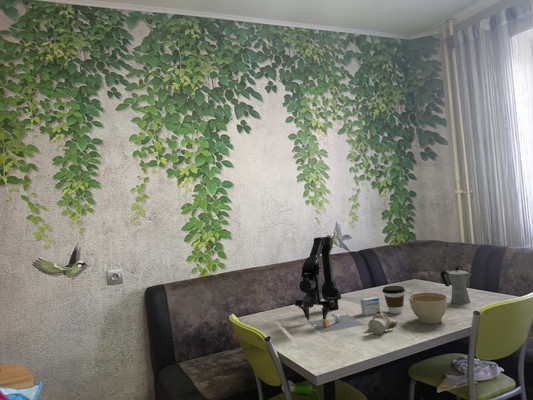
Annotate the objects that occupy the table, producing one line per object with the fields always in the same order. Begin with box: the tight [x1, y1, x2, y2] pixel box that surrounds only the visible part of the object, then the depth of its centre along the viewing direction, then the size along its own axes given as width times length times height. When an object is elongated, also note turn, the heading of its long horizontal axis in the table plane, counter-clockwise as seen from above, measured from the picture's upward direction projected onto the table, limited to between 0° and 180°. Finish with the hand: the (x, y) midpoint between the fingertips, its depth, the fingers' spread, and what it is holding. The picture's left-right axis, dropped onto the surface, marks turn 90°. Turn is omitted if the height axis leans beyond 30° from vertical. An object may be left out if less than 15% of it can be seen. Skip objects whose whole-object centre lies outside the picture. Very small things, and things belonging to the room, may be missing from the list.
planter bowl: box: [408, 291, 448, 325], centre depth 179 cm, size 16×16×11 cm
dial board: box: [308, 314, 365, 334], centre depth 186 cm, size 18×21×2 cm
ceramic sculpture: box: [367, 311, 398, 335], centre depth 173 cm, size 11×9×15 cm
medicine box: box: [360, 296, 381, 317], centre depth 195 cm, size 8×4×9 cm, turn 105°
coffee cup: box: [382, 285, 406, 315], centre depth 197 cm, size 11×11×12 cm
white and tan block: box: [322, 313, 340, 327], centre depth 185 cm, size 11×4×3 cm, turn 135°
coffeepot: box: [439, 266, 472, 305], centre depth 203 cm, size 15×9×18 cm, turn 44°
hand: (316, 320), depth 187 cm, fingers open, 8 cm apart
